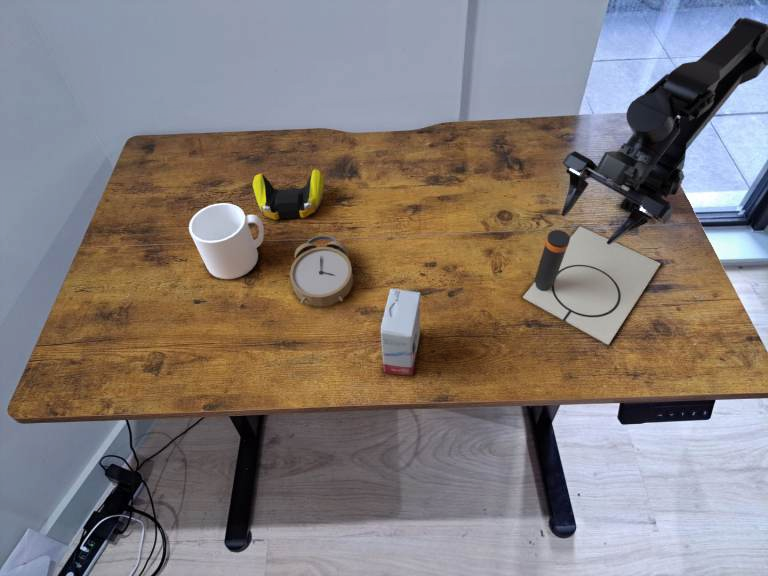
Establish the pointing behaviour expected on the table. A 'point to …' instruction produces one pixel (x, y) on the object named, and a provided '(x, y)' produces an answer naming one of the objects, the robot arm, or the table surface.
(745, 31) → the robot arm
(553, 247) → the marker
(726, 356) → the table surface
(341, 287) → the alarm clock
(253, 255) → the mug
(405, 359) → the ink box
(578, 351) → the table surface
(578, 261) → the paper sheet
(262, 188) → the gaming controller
